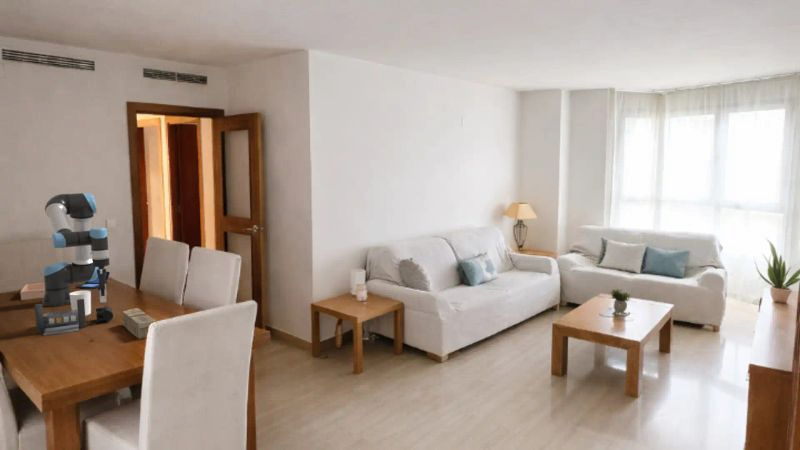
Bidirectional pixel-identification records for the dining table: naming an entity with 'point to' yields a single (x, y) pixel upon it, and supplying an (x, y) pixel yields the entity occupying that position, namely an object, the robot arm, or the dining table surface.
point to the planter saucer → (33, 291)
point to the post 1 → (39, 318)
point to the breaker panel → (60, 318)
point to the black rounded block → (104, 315)
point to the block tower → (137, 322)
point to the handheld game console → (92, 283)
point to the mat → (61, 329)
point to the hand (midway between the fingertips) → (103, 299)
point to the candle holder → (81, 295)
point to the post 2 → (81, 313)
